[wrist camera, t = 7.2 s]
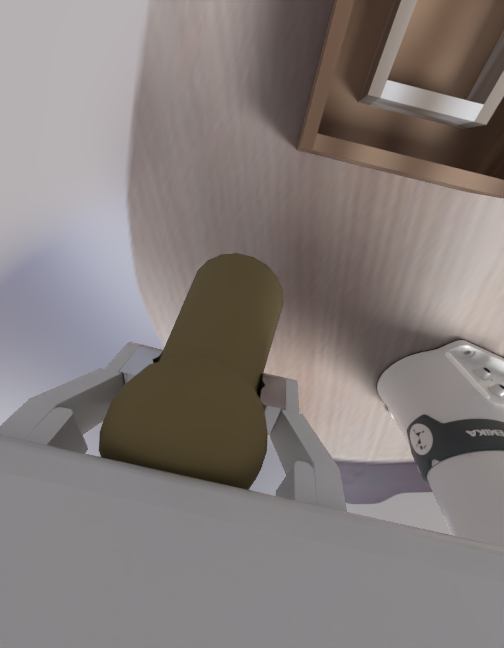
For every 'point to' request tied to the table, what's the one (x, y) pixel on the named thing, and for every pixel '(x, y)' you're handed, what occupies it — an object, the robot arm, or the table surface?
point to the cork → (204, 381)
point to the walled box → (413, 91)
